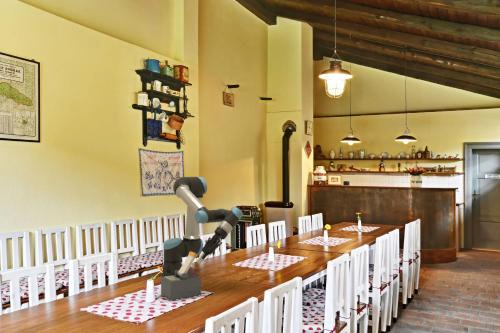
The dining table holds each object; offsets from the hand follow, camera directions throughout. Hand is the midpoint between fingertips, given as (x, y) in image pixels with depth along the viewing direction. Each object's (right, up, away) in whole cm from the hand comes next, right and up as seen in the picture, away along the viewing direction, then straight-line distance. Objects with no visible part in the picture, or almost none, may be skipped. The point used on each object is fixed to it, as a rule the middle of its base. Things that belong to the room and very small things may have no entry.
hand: (197, 263), depth 250 cm
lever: (-9, -5, -4) cm, 11 cm away
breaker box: (-9, -17, -4) cm, 20 cm away
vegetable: (-6, -17, +18) cm, 26 cm away
